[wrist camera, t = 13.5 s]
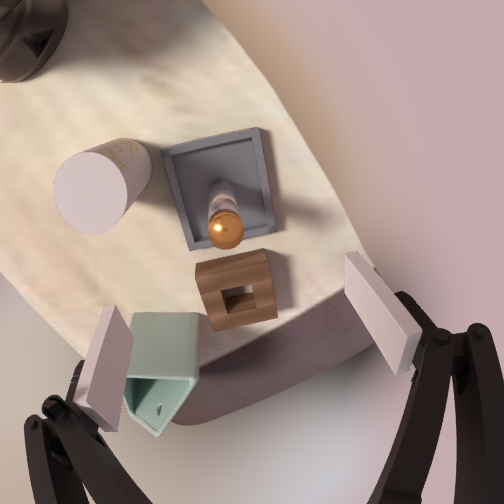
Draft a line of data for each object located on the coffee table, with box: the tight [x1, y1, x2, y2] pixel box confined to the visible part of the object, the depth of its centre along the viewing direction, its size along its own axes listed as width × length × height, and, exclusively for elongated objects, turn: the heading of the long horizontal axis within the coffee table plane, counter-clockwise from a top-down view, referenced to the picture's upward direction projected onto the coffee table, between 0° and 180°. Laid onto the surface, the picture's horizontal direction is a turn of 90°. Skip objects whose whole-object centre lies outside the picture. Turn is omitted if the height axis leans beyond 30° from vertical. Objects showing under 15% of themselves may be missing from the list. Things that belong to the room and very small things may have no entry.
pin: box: [208, 178, 244, 250], centre depth 31 cm, size 3×3×14 cm
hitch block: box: [195, 248, 278, 331], centre depth 43 cm, size 10×10×4 cm
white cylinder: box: [53, 138, 152, 234], centre depth 29 cm, size 8×8×12 cm
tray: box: [161, 127, 277, 251], centre depth 37 cm, size 14×12×2 cm
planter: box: [123, 312, 200, 437], centre depth 38 cm, size 16×8×20 cm, turn 130°
